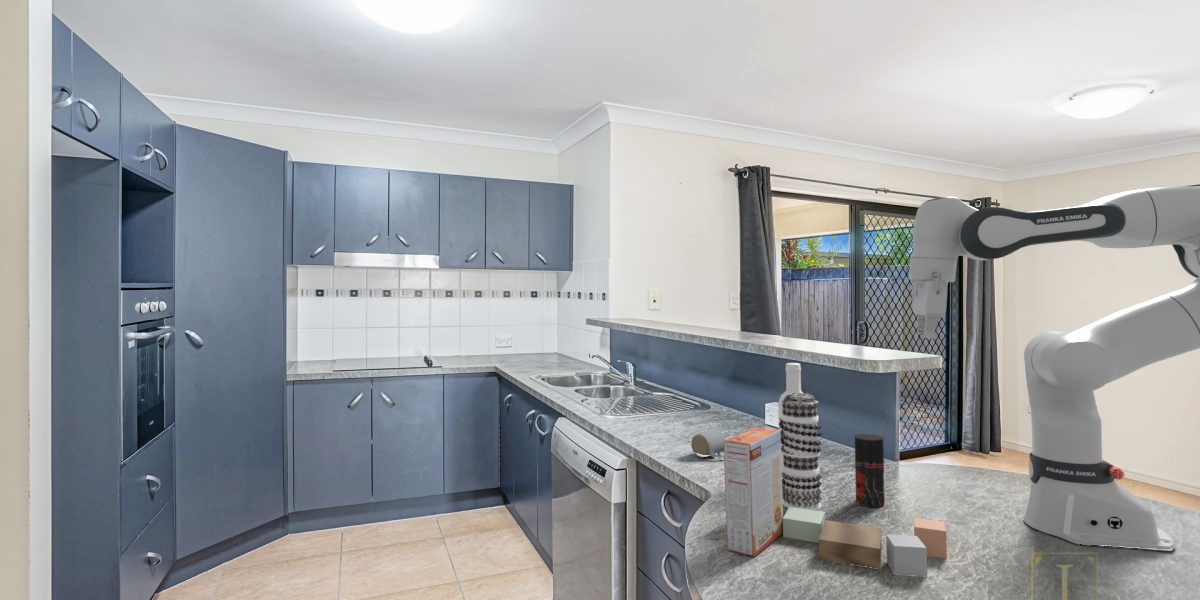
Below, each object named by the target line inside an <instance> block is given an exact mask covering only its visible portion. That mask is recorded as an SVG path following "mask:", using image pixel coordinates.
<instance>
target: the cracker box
mask: <svg viewBox="0 0 1200 600" xmlns="http://www.w3.org/2000/svg"><path fill="white" fill-rule="evenodd" d="M723 456H724V460H723V461H724V462H723V463H724V464H723V465H724V468H723V469H724V490H725V491H724V492H725V519H726V521H725V522H726V548H727V551H729V552H733V553H737V554H741V555H744V556H748V555H749V557H752V556H753V557H754V558H755V557H756V556H757V555H759V554H760V553H761V552H762V551H763V550H765V549H766V548H767V547H768V546H770V545H771V544H772V543H773V542H774V541H775V540H777V539H778V538H780V536H781V535H783V517H784V508H783V506H784V505H783V501H782V500H783V498H782V493H783V492H782V486H783V483H782V471H781V441H780V430H779V429H773V428H771V429H770V428H765V427H758V426H757V427H756V426H755V427H753V428H750V429H749V430H746V431H744V432H741V433H739V434H737V435H735V436H732V437H730V438H727V439H725V441H724V452H723Z"/></svg>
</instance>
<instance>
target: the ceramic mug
mask: <svg viewBox="0 0 1200 600" xmlns="http://www.w3.org/2000/svg"><path fill="white" fill-rule="evenodd" d="M725 440H726V438H725V436H724V433H723V432H722V431H720V430H719V429H717V428H710V429H707V430H704V431H702V432H699V433H697V434H695V435H694V436H693V437H692V438H691V449H692V452H693V453H694V452H695V453H699V454H702V455H710V457H711V456H713V457H724V455H720V454H718V455H716V454H715V453H720V452H723V453H724V441H725ZM695 453H694V454H695Z"/></svg>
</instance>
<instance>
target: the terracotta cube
mask: <svg viewBox="0 0 1200 600" xmlns="http://www.w3.org/2000/svg"><path fill="white" fill-rule="evenodd" d="M913 525H914V526H913V529H914V530H913V533H914V535H913V536H917V537H918V538H919V539H920V540H921V542H922V543H923V544H924V545H925V547H926V551H927V556H928V557H933V558H939V557H940V558H941V559H945V558H947V557H948V555H947V554H948V553H947V552H948V551H947V545H948V544H947V529H946V523H945V521H942V520H941V521H940V520H934V519H927V518H919V517H913Z"/></svg>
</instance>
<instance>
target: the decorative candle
mask: <svg viewBox="0 0 1200 600" xmlns="http://www.w3.org/2000/svg"><path fill="white" fill-rule="evenodd" d="M781 401H782V404H783V405H782V408H783V413H782V420H781V419H780V423H779V422H778V427H779V426H780V428H782V430H781V431H780V435H781V438H780V441H781V444H784V445H782V447H781V452H782V454H783V460H784V464H783V472H782V477H783V479H782V501H783V506H784V507H785V508H787V509H788V508H789V507H794V508H801V509H809V510H816V511H818V510H820V509H821V507H822V504H821V501H822V500H823V499H822V497H821V494H822V490H821V488H820V487H821V486H822V483H821V481H820V480H821V479H822V476H821V473H820V466H819V457H820V456H821V452H822V448H820V447H819V446H820V445H821V444H822V442H821V441H820V440H819V439H818V437H821V436H822V432H821V431H820V430H821V429H822V426H821V425H820V424H819V415H818V404H819V400H816V399H815V396H813V395H812V394H810V393H805V392H803V393H790V394H787V395H786V396H785V398H784V399H783V400H781Z"/></svg>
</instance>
